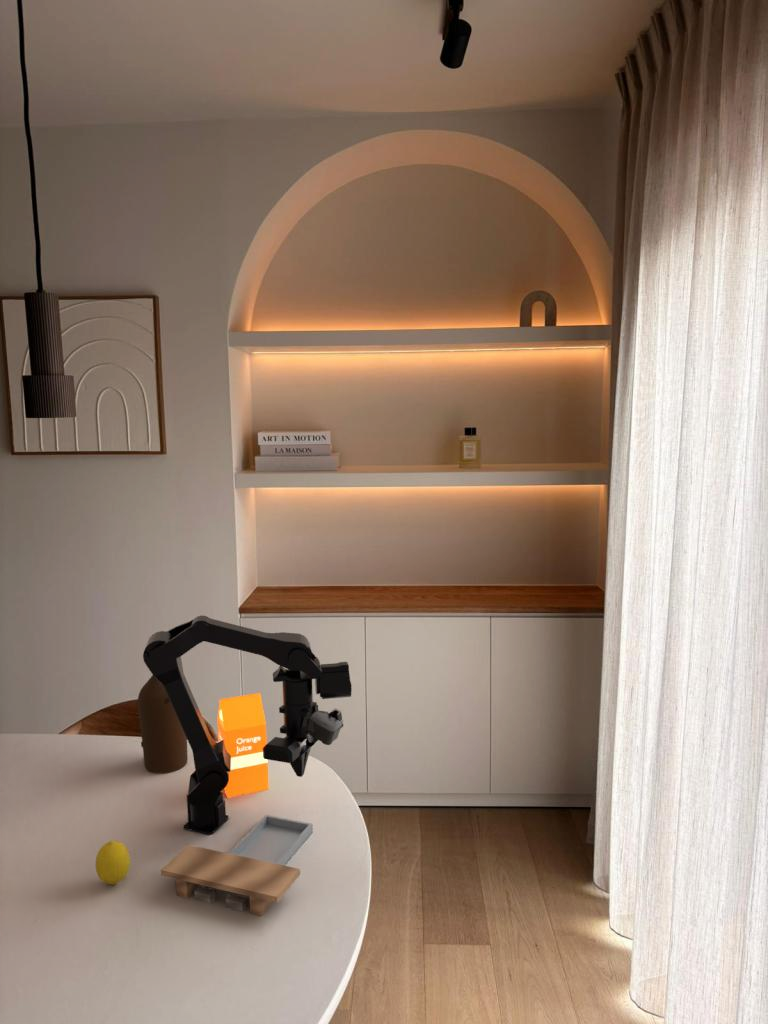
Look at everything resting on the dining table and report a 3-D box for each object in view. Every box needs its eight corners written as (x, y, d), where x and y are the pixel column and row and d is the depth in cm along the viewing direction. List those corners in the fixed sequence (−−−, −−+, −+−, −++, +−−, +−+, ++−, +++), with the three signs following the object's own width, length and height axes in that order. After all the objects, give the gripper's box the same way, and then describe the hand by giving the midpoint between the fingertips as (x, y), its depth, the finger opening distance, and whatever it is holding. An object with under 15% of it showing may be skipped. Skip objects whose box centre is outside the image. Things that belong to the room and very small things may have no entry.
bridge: (162, 891, 136) (160, 869, 136) (189, 865, 144) (188, 844, 143) (278, 920, 128) (277, 896, 128) (300, 890, 136) (299, 868, 135)
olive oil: (200, 760, 185) (194, 654, 181) (165, 779, 176) (158, 669, 172) (166, 750, 190) (160, 647, 186) (131, 768, 181) (124, 661, 178)
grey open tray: (227, 863, 144) (227, 853, 144) (266, 824, 157) (265, 814, 157) (277, 874, 141) (277, 864, 140) (312, 833, 154) (312, 823, 153)
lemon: (120, 896, 135) (117, 851, 134) (90, 892, 136) (87, 848, 135) (137, 876, 141) (134, 833, 139) (108, 873, 142) (105, 831, 141)
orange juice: (269, 789, 171) (265, 699, 168) (227, 798, 167) (222, 706, 164) (260, 773, 178) (256, 686, 175) (219, 781, 174) (215, 693, 171)
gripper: (314, 724, 145) (316, 805, 148) (354, 688, 163) (356, 761, 165) (259, 716, 149) (263, 795, 152) (305, 682, 167) (307, 753, 169)
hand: (300, 775), depth 159 cm, fingers closed
